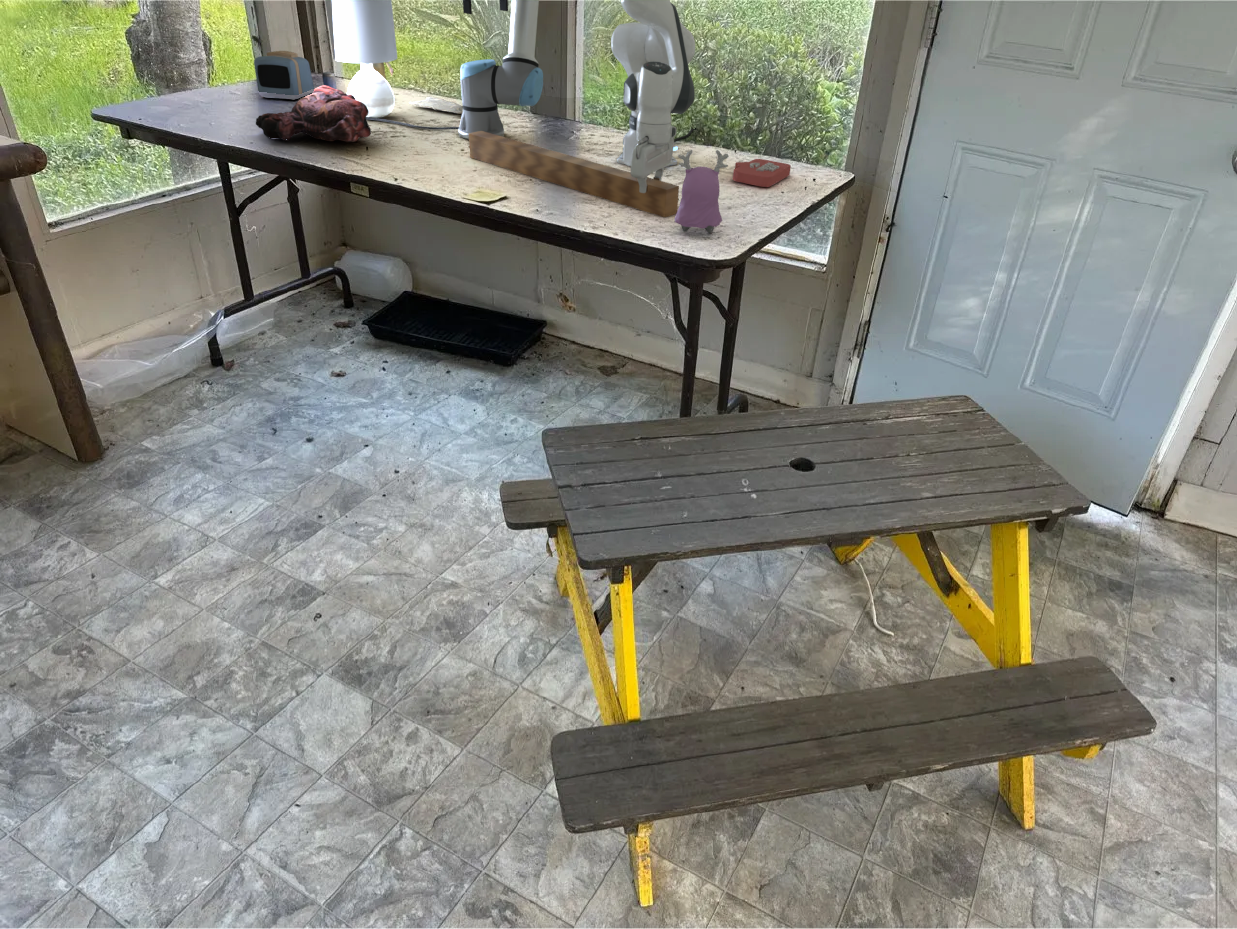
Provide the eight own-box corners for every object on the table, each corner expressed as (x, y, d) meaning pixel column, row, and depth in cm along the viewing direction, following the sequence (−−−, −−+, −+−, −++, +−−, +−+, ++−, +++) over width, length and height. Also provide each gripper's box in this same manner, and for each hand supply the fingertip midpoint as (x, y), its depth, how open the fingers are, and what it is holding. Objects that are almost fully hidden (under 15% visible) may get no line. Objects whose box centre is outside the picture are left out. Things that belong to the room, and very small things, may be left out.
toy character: (721, 226, 217) (729, 145, 206) (721, 240, 208) (729, 156, 197) (673, 223, 218) (679, 142, 207) (671, 236, 209) (677, 153, 198)
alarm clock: (257, 98, 324) (248, 53, 316) (278, 90, 338) (270, 46, 329) (297, 101, 323) (289, 55, 314) (317, 93, 336) (310, 49, 327)
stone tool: (407, 106, 321) (455, 116, 310) (406, 98, 320) (455, 108, 308) (428, 102, 329) (476, 112, 317) (427, 94, 327) (475, 104, 316)
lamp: (416, 115, 310) (403, -11, 287) (372, 125, 294) (355, -7, 272) (373, 106, 319) (358, -16, 296) (328, 116, 304) (309, -13, 281)
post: (470, 157, 265) (468, 133, 261) (482, 154, 268) (481, 130, 264) (664, 217, 222) (666, 189, 218) (677, 213, 225) (679, 185, 221)
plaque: (748, 154, 263) (793, 162, 256) (746, 167, 265) (791, 175, 258) (722, 166, 250) (769, 175, 244) (721, 179, 252) (767, 189, 246)
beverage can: (339, 109, 314) (334, 74, 307) (318, 108, 314) (312, 73, 307) (346, 104, 321) (341, 69, 314) (325, 103, 321) (320, 69, 314)
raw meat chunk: (388, 148, 274) (381, 105, 266) (300, 168, 259) (290, 124, 251) (331, 115, 299) (323, 75, 291) (247, 132, 285) (236, 91, 276)
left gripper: (454, -77, 219) (460, 16, 230) (525, -76, 234) (527, 10, 246) (436, -78, 223) (442, 13, 234) (506, -78, 238) (509, 8, 250)
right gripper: (649, 142, 207) (646, 199, 215) (679, 127, 223) (675, 180, 231) (625, 139, 209) (623, 195, 217) (656, 124, 225) (653, 177, 233)
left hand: (486, 12), depth 240 cm, fingers open, 13 cm apart
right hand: (650, 187), depth 224 cm, fingers open, 8 cm apart
